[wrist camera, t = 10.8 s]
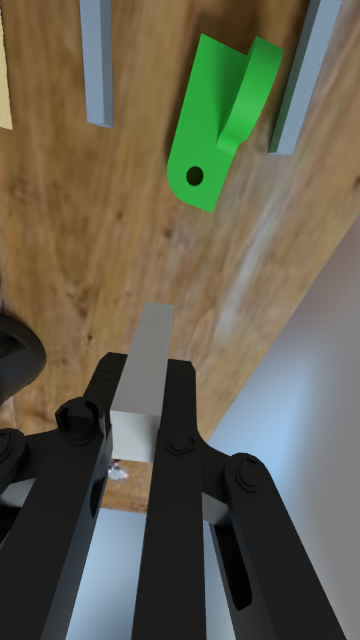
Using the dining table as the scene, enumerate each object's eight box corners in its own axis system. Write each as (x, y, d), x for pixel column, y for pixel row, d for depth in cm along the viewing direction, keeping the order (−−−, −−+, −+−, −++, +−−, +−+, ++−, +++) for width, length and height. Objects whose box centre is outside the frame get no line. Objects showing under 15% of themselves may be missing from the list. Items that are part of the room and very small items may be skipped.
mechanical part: (200, 43, 21) (204, -14, 14) (262, 73, 22) (293, 33, 15) (162, 190, 27) (151, 199, 20) (210, 209, 28) (216, 224, 21)
